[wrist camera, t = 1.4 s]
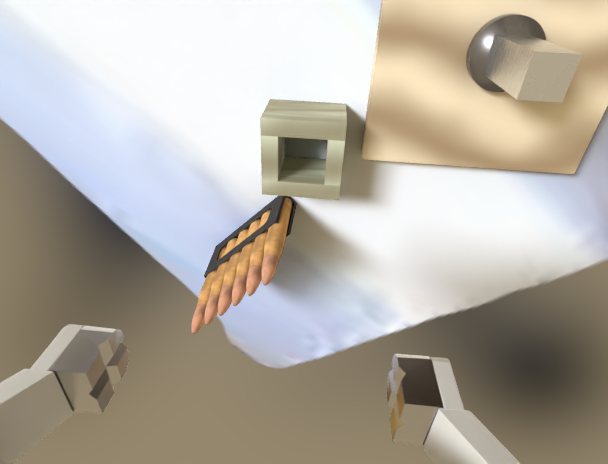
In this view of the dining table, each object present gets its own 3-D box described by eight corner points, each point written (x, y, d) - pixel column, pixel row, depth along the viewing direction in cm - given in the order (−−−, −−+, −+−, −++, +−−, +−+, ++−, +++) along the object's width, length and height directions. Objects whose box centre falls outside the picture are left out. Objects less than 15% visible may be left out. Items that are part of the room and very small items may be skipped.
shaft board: (397, -115, 24) (422, -151, 17) (692, -103, 23) (853, -134, 16) (361, 152, 34) (367, 203, 27) (565, 166, 34) (628, 222, 26)
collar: (270, 99, 32) (260, 118, 28) (346, 104, 32) (346, 124, 28) (270, 168, 36) (262, 194, 32) (338, 173, 36) (338, 199, 32)
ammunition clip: (284, 190, 37) (264, 271, 28) (297, 203, 38) (283, 285, 28) (215, 246, 42) (177, 332, 32) (228, 256, 43) (195, 343, 33)
